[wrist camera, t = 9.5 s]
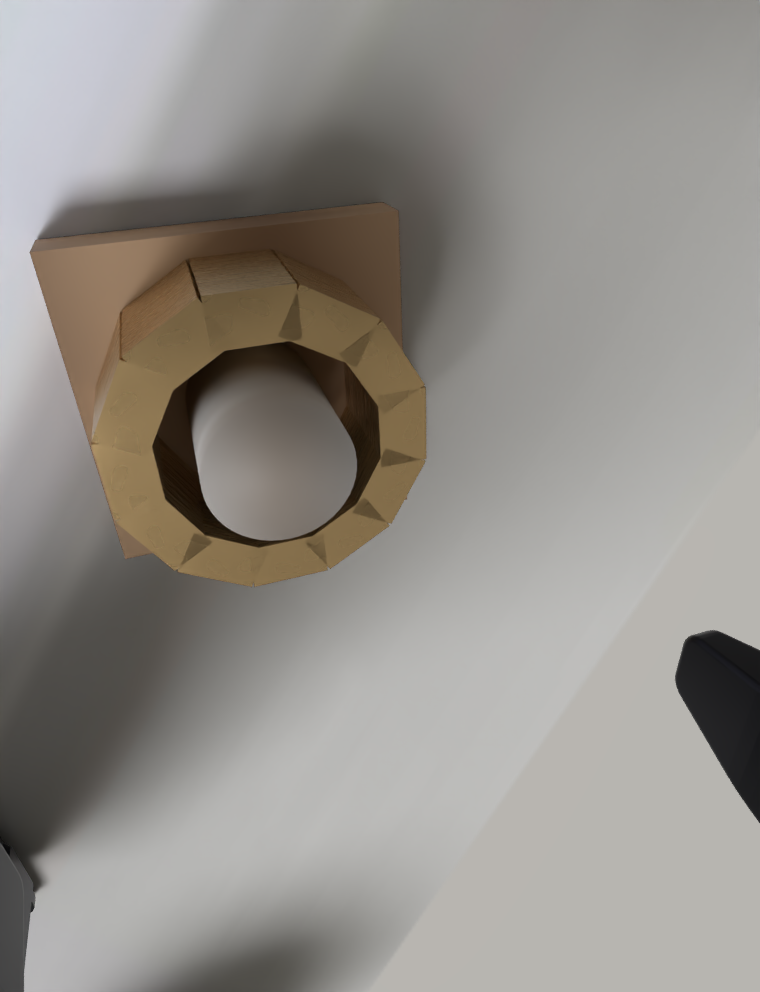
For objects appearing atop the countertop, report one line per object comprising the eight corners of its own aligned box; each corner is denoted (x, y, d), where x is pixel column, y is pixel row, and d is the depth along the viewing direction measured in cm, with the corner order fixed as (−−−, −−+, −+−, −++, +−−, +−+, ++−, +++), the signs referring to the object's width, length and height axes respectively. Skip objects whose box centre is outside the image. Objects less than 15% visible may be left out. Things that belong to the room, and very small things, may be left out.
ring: (140, 539, 18) (142, 612, 16) (62, 273, 15) (51, 315, 12) (390, 488, 20) (426, 547, 18) (379, 235, 16) (424, 266, 14)
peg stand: (125, 534, 20) (125, 663, 15) (35, 239, 15) (2, 308, 11) (393, 479, 21) (460, 582, 17) (382, 201, 17) (468, 249, 13)
